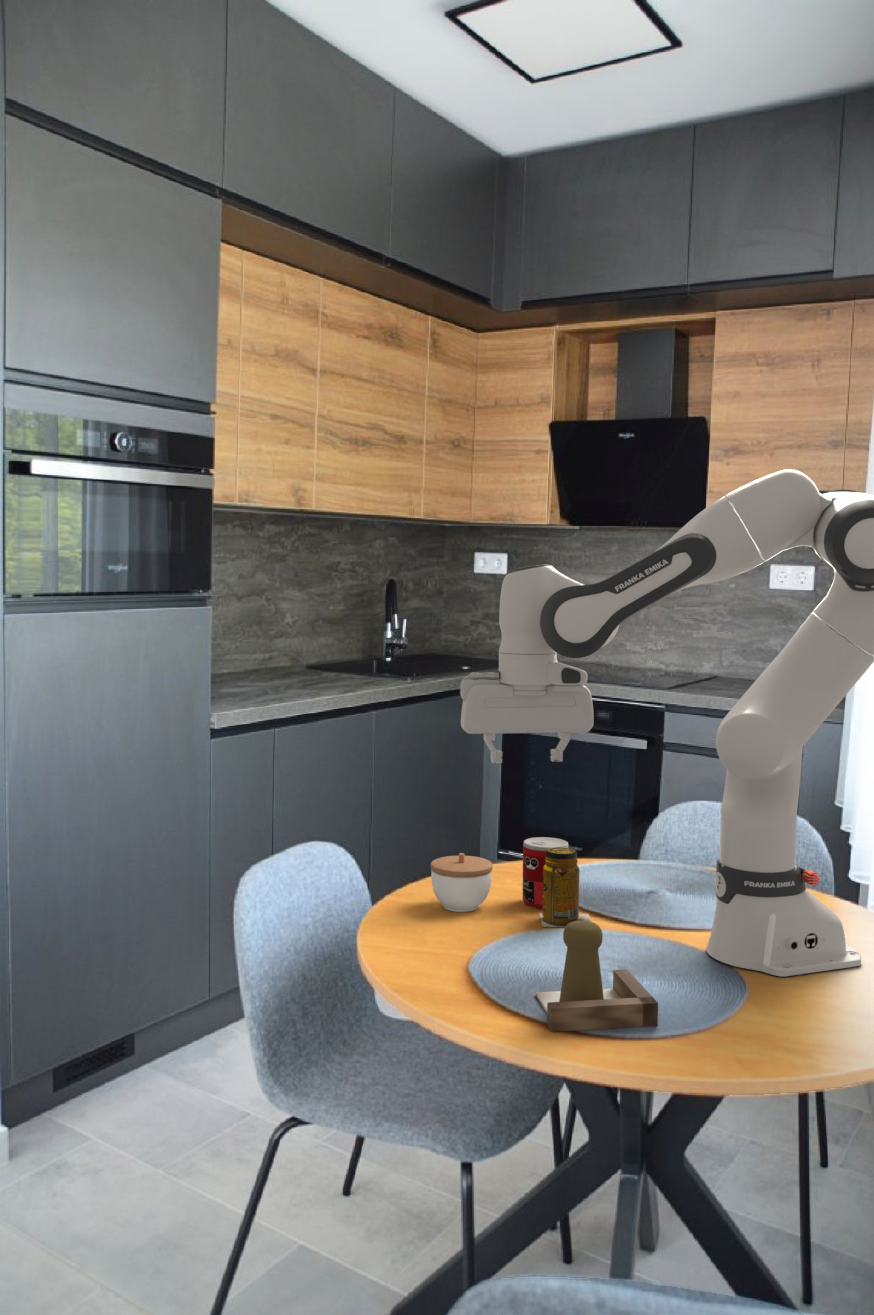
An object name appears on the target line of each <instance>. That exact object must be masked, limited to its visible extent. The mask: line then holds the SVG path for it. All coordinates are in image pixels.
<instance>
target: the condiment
mask: <svg viewBox="0 0 874 1315" xmlns="http://www.w3.org/2000/svg"><path fill="white" fill-rule="evenodd" d="M545 854H546V859H545V862H546V864H545V865H544V867H543V909H542V913H541V912H539V913H538V916H539V919H540V922H541V927H548V928H565V927H566V925H567V924H568V923H570V922H573V921H590V922H592V919H591V917H590V914H589V913H580V910H579V909H580V872H581V871H580V867H579V866H578V852H577V850H575V849H573V848H569V847H568V848H564V847H555V848H550V849H548V850H547V851H546V853H545Z"/></svg>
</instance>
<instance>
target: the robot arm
mask: <svg viewBox="0 0 874 1315" xmlns="http://www.w3.org/2000/svg"><path fill="white" fill-rule="evenodd" d="M804 546H805V547H809V548H810V549H811V551H813V552H814V553H815V554H816V555H817V556H818V557H819V559H820V560H821V561H823V563H824V564H826V565H828V566H829V567H830V568H833V574H834V575H833V581H832V584H831V586H830V588H829V590H828V592H827V594H826V595H825V597H824V598H823V599H822V600H821V602H819V604H818V605H817V606H816V607H815V608H814V609H813V610H812V612H811V613H810V615H808V617H807V618H806V620H804V622H803V623H802V624H801V625H800V627H799V628H798V630H797V631H796V632H794V635H793V636H792V637H791V639H790V640H789V641H788V642H787V643H786V645H784V647H783V648H782V649H781V650H780V652H779V653H778V654H777V655H776V656H775V657H774V659H773V660H772V661H771V662H770V664H768V666H767V667H766V668H765V669H764V670H763V671H762V673H760V675H759V676H758V677H757V678H756V680H755V681H754V682H753V683H752V684H751V685H750V686H749V688H748V689H747V690H746V691H745V693H743V695H742V696H741V697H740V698H739V699H738V701H736V704H734V705H733V707H732V708H731V709H730V710H729V712H727V714H726V715H725V716H724V717H723V719H722V721H721V722H720V724H719V726H718V729H717V730H716V735H715V736H716V737H715V748H716V752H717V755H718V758H719V760H720V762H721V764H722V765H723V766H724V767H725V769H726V772H725V773H726V774H725V780H724V782H725V783H724V787H723V788H724V789H723V795H722V802H721V806H720V822H719V823H720V829H719V858H718V859H717V860H716V866H715V879H714V882H715V883H714V884H715V896H716V905H715V911H714V916H713V917H714V918H713V922H712V923H713V924H712V928H711V931H710V934H709V938H708V941H707V944H706V947H705V951H706V953H707V954H708V955H709V956H710V957H712V958H713V959H714V960H717V961H719V962H721V963H724V964H727V965H730V966H733V967H736V968H742V969H747V970H752V971H759V972H763V973H765V974H768V975H772V976H777V977H790V976H797V975H804V974H805V975H806V974H811V973H818V972H825V971H833V970H839V969H846V968H853V967H859V966H861V965H862V957H861V954H860V953H859V951H858V950H857V949H856V948H854V946H851V945H850V944H849V943H847V942H846V935H845V934H846V933H845V929H844V926H843V922H842V920H841V919H840V917H839V916H838V915H837V914H836V913H835V911H833V910H832V909H830V908H829V907H828V906H827V905H826V904H825V903H823V902H822V901H821V900H819V898H818V897H816V895H814V894H813V893H811V892H810V891H808V889H807V887H806V883H807V884H808V885H809V886H812V887H815V886H818V885H819V884H818V883H820V880H821V878H820V877H821V876H820V875H819V873H817V872H815V871H813V870H811V869H805V868H803V867H801V866H799V865H798V864H796V857H797V856H796V855H797V854H796V853H797V827H798V826H797V824H798V820H797V819H798V807H799V806H798V805H799V797H800V789H801V788H800V786H801V774H802V762H803V747H804V746H805V745H806V744H807V742H808V741H809V739H810V738H812V736H813V735H814V734H815V733H816V731H817V730H818V729H819V728H820V726H822V724H823V723H824V722H825V720H826V719H827V718H828V717H829V716H830V714H831V713H833V711H834V710H835V709H836V707H837V706H838V705H839V704H840V703H841V701H842V700H843V699H844V698H845V697H846V696H847V694H848V693H849V692H850V691H851V690H852V688H853V687H854V686H855V684H857V682H859V680H860V679H861V678H862V676H863V675H864V674H865V673H866V672H867V670H869V668H870V667H871V666H872V664H873V663H874V495H872V494H868V493H865V492H860V491H858V490H857V491H856V490H853V489H852V490H851V489H832V490H830V489H829V490H819V489H818V487H817V486H816V484H815V482H814V481H813V480H811V478H810V477H808V476H807V475H806V474H804V473H803V472H801V471H800V470H796V469H791V468H789V469H782V470H779V471H776V472H774V473H770V474H767V475H765V476H762V477H761V478H757V479H755V480H753V481H750V482H749V483H746V484H745V485H743V486H740V487H738V488H737V489H735V490H733V491H731V492H729V493H728V494H726V495H724V496H723V497H721V498H719V499H717V500H716V501H714V502H713V503H711V504H710V505H708V506H707V507H705V508H704V509H703V510H701V511H700V512H698V514H696V515H695V516H693V518H691V519H690V520H689V521H688V522H687V523H685V524H684V525H683V526H682V527H681V528H680V529H679V530H678V531H677V532H676V533H675V534H674V535H672V537H671V538H669V539H668V540H667V541H666V542H665V543H663V545H661V546H660V547H658V548H657V549H656V550H654V551H653V552H652V553H650V554H648V555H646V556H645V557H642V558H640V560H637V561H636V562H634V563H632V564H631V565H629V566H627V567H625V568H624V569H621V570H620V571H618V572H617V573H614V574H612V575H611V576H609V577H607V578H605V579H602V580H600V581H597V582H595V583H592V584H584V583H581V582H579V581H577V580H575V579H572V578H571V577H569V576H567V575H565V574H563V573H561V572H560V571H558V570H557V569H556V568H555V567H554V566H553V565H551V564H547V563H545V564H544V563H543V564H542V563H541V564H537V565H536V564H533V565H528V566H527V565H526V566H523V567H522V566H521V567H518V568H515V569H512V570H511V571H509V572H508V573H506V575H505V576H504V578H503V581H502V584H501V590H500V597H499V598H500V599H499V610H498V611H499V614H498V615H499V617H498V618H499V619H498V621H499V622H498V623H499V628H500V633H501V641H500V645H499V648H498V671H488V672H487V671H485V672H478V671H474V672H470V673H469V674H468V675H466V676H464V677H463V678H462V679H461V682H460V684H459V685H460V686H459V689H460V690H459V694H460V698H461V699H462V705H461V712H460V727H461V729H462V730H463V731H464V732H466V734H470V735H480V734H483V741H484V743H485V744H486V746H487V748H488V749H489V751H490V762H491V763H492V764H502V763H503V751H502V750H501V749H496V747H495V745H494V743H493V742H495V741H496V735H497V734H543V733H545V734H547V733H548V734H549V733H556V734H557V738H558V739H560V740H559V742H558V744H557V746H556V747H555V748H552V749H551V748H550V761H551V762H552V763H553V762H554V763H561V762H563V760H564V759H563V757H564V755H563V754H564V751H565V749H566V747H567V746H568V744H569V742H570V740H571V733H589V732H590V731H591V729H593V727H594V722H595V721H594V716H595V715H594V705H593V697H592V693H591V691H590V689H589V688H588V687H587V686H585V685H586V684H587V682H588V678H589V677H588V673H587V671H585V670H583V669H581V668H579V667H576V666H572V665H570V664H569V663H565V662H562V661H561V662H559V661H558V654H559V655H560V656H563V657H565V658H570V659H580V658H586V657H588V656H591V655H593V654H594V653H596V652H598V650H600V649H602V648H603V647H605V646H607V645H608V644H609V643H611V641H612V640H613V639H614V638H615V637H616V635H617V633H618V632H619V630H620V626H621V624H623V622H625V621H626V620H627V619H630V618H631V617H633V616H634V615H636V614H639V612H641V611H643V610H645V609H647V608H648V607H650V606H652V605H654V604H655V603H658V602H659V601H661V600H663V599H664V598H667V597H668V596H670V595H672V594H674V593H676V592H679V591H682V590H685V589H688V588H691V587H696V586H699V585H707V584H713V583H717V582H718V583H719V582H722V581H724V580H728V579H731V578H734V577H736V576H738V575H740V574H743V573H746V572H748V571H750V570H753V569H754V568H756V567H757V566H760V565H762V564H764V562H767V561H769V560H770V559H772V558H773V557H775V556H777V555H779V554H780V553H782V552H783V551H787V550H790V549H792V548H796V547H804Z"/></svg>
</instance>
